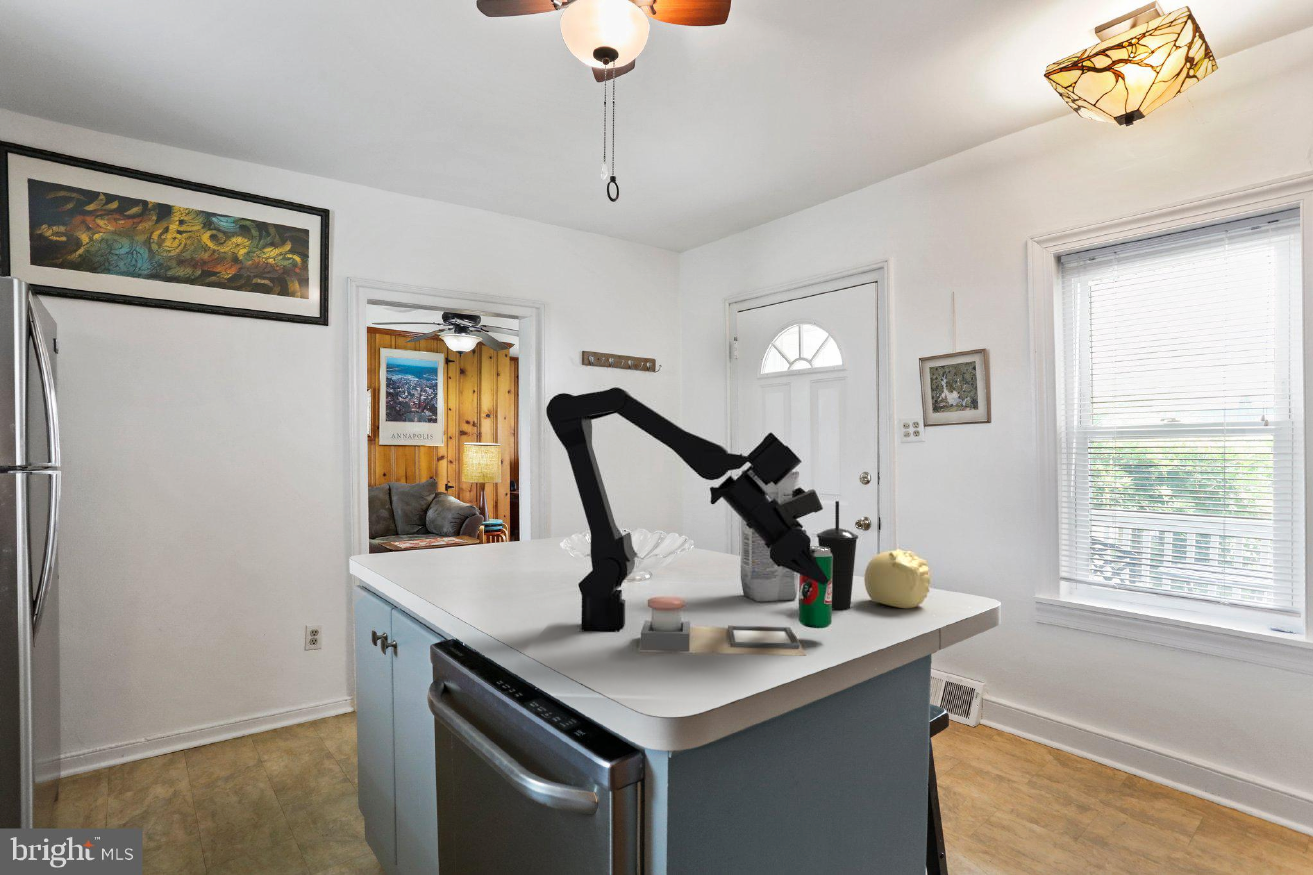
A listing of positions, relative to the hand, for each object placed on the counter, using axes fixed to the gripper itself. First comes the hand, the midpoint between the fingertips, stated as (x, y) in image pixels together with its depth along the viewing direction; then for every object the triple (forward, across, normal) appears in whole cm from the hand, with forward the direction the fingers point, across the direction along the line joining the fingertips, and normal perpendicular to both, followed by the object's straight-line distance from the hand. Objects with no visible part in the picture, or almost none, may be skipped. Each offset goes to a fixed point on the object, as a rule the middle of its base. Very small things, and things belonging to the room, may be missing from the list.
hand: (824, 579), depth 104 cm
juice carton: (+1, +30, +12) cm, 32 cm away
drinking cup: (+10, +24, +3) cm, 26 cm away
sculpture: (+18, +28, -5) cm, 33 cm away
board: (-4, -4, +18) cm, 19 cm away
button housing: (-10, -8, +23) cm, 27 cm away
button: (-12, -8, +22) cm, 26 cm away
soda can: (+4, 0, +6) cm, 7 cm away
